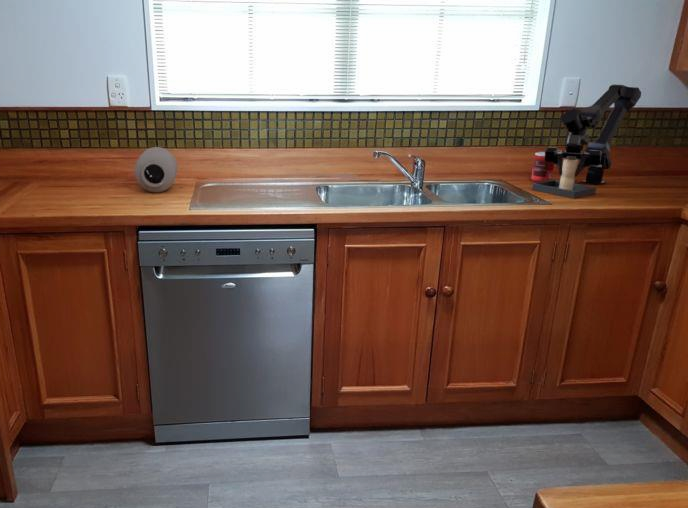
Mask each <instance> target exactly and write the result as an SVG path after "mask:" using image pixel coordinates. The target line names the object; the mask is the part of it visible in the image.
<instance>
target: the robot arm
mask: <svg viewBox="0 0 688 508" xmlns="http://www.w3.org/2000/svg"><path fill="white" fill-rule="evenodd" d="M641 97H642V91H641V89H640V88H639V87H638V86H637V87H636V86H626V85H624V84H611V85H609V87H608V89H607V90H606V91H605V92H604V93H603V94H602V95H601V96H600V97H599V98H598V99H597V100H596V101H595V102H594V103H593V104H592V105H590V106H587V107H584V108H582V109H581V110H580V111H579V109H578V108H576V107H575V108H574V107H571V109H570V110H567V111H566V112H564V113H563V114H561V116H560V121H561V124H562V126H563V127H564V129H565V131H566V132H567V133H569V134H568V135H567V140H566V143H565V147H564V151H563V150H561V149H558V147H555V146H554V147H553V146H547V147H546V148H545V151H544V152H545V161H546V162H554V165H556V166H557V167H556V168H557V170H558V175H559V176H561V172H562V166H563V160H564V159H565V158H566V157H567V156H575V157H576V159H578V164H577V169H576V173H575V178H577V176H578V175H579V174H580V173H581V172H582V171H583V170H584V169H585V168H587V171H586V177H585V179H584V180H582V181H581V183H583V184H589V185H595V186H598V185H602V184H606V181H603V178H604V172H605V170H609V169H611V166H612V163H613V162H612V160H611V158H610V154H611V148H610V145H611V143H612V141H613V139H614V137H615V135H616V133H617V131H618V129H619V128H620V125H621V124H622V121H623V119H624V118H625V116H626V114H627V112H628V111H630V110H631V109H633V108H634V107H635V106H636V105H637V103H639V100H640V99H641ZM612 106H613V108H612V110H611V112H610V114H609V116H608V117H607V119H606V122H605V124H604V125H603V127H602V129H601V131H600V133H599V135H598V137H597V139H596V140H595V141H590V142H589V138H590V134H589V133H588V129H589V128H591V129H594V128H596V127H597V126H598V125H599V123H600V122H601V121H602V120H603V119H602V118H603V115H604V113H605V112H606V111H607V110H608V109H609V108H610V107H612ZM587 128H588V129H587ZM584 146H587V147H586V148H585V150H584ZM583 150H584V152H583Z"/></svg>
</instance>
